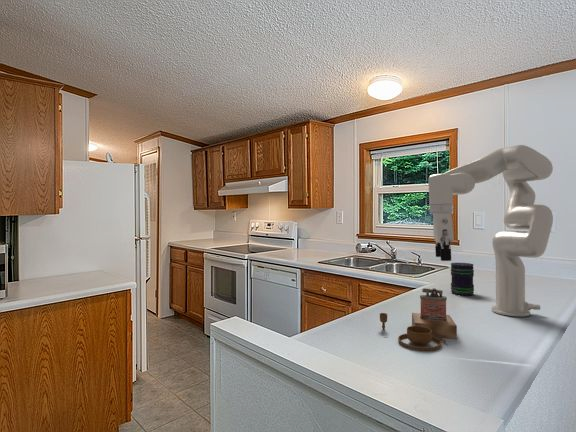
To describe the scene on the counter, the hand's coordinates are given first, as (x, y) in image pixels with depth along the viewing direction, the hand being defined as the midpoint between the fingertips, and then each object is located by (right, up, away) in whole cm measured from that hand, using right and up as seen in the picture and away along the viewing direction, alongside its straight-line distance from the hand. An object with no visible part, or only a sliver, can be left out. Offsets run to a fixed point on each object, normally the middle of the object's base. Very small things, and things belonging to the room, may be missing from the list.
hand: (443, 258), depth 120 cm
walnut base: (-7, -23, -7) cm, 25 cm away
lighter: (-7, -19, -8) cm, 22 cm away
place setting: (-16, -24, -14) cm, 32 cm away
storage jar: (+29, -23, +44) cm, 58 cm away
